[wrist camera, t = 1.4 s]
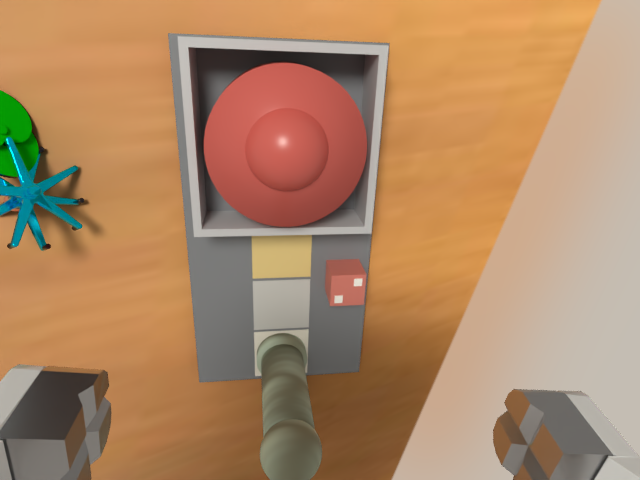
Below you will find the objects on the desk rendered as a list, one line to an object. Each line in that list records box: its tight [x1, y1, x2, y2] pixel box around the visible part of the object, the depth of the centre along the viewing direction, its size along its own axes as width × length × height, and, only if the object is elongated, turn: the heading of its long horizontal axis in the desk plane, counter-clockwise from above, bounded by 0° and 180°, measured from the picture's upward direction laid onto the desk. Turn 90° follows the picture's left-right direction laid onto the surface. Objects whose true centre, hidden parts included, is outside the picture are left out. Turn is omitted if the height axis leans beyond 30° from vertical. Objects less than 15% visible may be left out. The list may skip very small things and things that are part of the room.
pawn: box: [257, 333, 322, 480], centre depth 37 cm, size 5×5×14 cm
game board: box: [168, 33, 389, 382], centre depth 37 cm, size 16×31×5 cm, turn 178°
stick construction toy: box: [0, 90, 84, 251], centre depth 32 cm, size 12×7×8 cm
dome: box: [204, 62, 367, 227], centre depth 31 cm, size 11×11×6 cm
